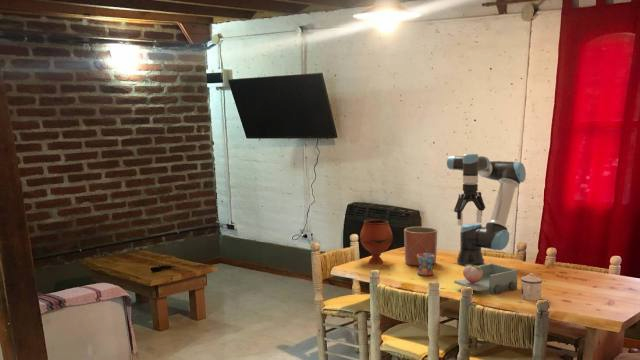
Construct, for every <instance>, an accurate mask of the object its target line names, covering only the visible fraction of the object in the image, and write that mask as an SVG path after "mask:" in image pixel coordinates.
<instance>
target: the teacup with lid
mask: <svg viewBox="0 0 640 360" xmlns="http://www.w3.org/2000/svg"><path fill="white" fill-rule="evenodd" d="M520 280H521V281H520V282H521V284H520V297H521V298H522V299H523V300H525V301H526V300H527V301H533V302H535V301H536V300H537V301H540V300H541V299H542V282H543V280H542V278H541V277H538V276H537V275H535V273H533V272H529V274H527V275H524V276H521V278H520ZM539 299H540V300H539ZM537 301H536V302H537Z"/></svg>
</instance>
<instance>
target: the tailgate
mask: <svg viewBox="0 0 640 360" xmlns="http://www.w3.org/2000/svg"><path fill="white" fill-rule="evenodd" d="M453 283H454V284H456V285H459V286H462V287H464V286H466V287H465V288H467V287H471V288H473V289H472V290H474V291H476V292H479V291H480V290H488V289H489V287H488V286H485V285H482V284H479V283H473V284H472V283H470V282H469V281H468V280H467V279H466V278H465V279H457V280H456V279H455V280H453ZM480 292H481V291H480Z"/></svg>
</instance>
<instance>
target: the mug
mask: <svg viewBox="0 0 640 360" xmlns="http://www.w3.org/2000/svg"><path fill="white" fill-rule="evenodd" d="M417 257H418V260H419V266H418V270H417V272H416V273H417V274H418V275H420V276H424V277H425V276H427V277H428V276H432V275H433V274H434V272H433V271H434V270H433V268H432V267H433V264H432V262H433V259H434V255H433V254H429V253H420V254H417Z"/></svg>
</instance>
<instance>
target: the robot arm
mask: <svg viewBox="0 0 640 360" xmlns="http://www.w3.org/2000/svg"><path fill="white" fill-rule="evenodd" d="M446 167H447V168H448V170H453V171H462V183H463V184H462V191H463V193H458V198H457V201H456V204H455V206H454V209H453V212H455V213H456V215H457V216H456V219H457V226H461V227H460V232H459V233H460V240H459V241H460V249H459V253H458V257H457V259H456V263H457V264H458V265H461V266H464V267H466V265H469V264H471V265H473V263H474V265H475V266H480V265H485V259H484V255H483V253H482V248H484V249H487V250H489V249H490V250H494V251H502V250H504V249H505V248H507V246H508V244H509V241H510V232H509V231H508V227H507V226H506V224H507V221H508V217H509V214H510V209H511V206H512V202H513V199H514V195H515V192H516V191H515V190H516V189H517V188H519V187H520V184H521V183H524V181H525V180H526V176H527V173H526V167H525V165H524V163H522V162H521V161H505V160H504V161H502V160H496V161H495V160H493V161H490V159H489V158H488V157H487V156H484V155H483V156H482V155H479V154H478V153H465V154H463V155H461V156H460V155H450V156H448V157H447V159H446ZM479 176H480V177H481V178H484V179H485V178H486V179H489V180H493V181H498V183H499V188H498V191H497V195H496V199H495V202H494V205H493V210H492V213H491V216H490V220H489V221H488V222H486V224H485V227H483V225H482V218H483V217H482V216H483V211H485V209H486V206H485V203H484V200H483V197H482V192H481V191H478V189H479V184H478V182H479ZM471 202H473V204H474V205H475V207H476V208H477V209H476V223H466V224H463V223H464V221H463V219H464V213H463V211H464V209H465V207H466V205H467V204H468V203H471Z"/></svg>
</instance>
